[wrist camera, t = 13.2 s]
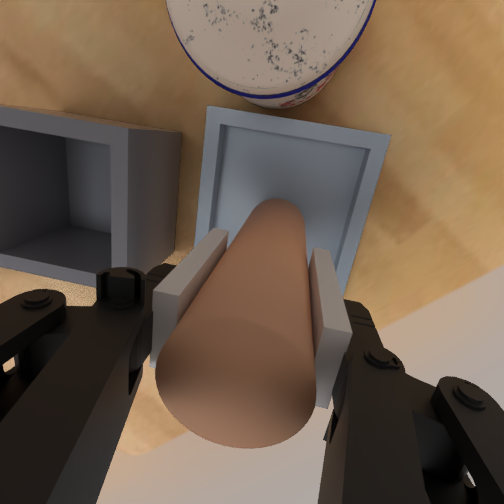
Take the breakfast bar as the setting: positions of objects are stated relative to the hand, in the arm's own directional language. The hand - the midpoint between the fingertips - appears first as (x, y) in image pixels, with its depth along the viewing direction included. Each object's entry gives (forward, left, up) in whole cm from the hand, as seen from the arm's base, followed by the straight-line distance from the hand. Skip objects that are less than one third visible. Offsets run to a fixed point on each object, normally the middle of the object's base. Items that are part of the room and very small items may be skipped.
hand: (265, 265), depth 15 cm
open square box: (0, -13, -11) cm, 17 cm away
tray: (0, 0, -11) cm, 11 cm away
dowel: (0, 0, -7) cm, 7 cm away
